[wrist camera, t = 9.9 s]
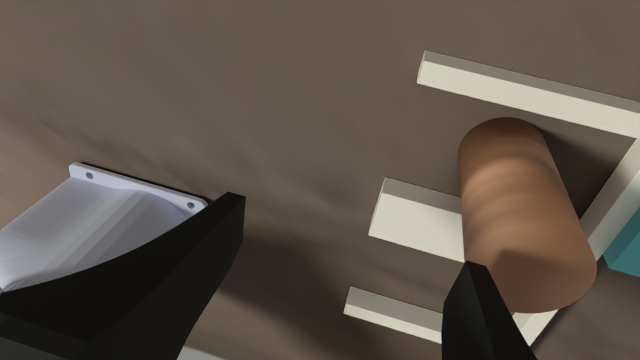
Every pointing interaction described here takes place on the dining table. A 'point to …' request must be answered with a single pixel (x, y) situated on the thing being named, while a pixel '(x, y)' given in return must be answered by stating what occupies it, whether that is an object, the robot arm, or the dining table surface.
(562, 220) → the peg
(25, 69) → the dining table surface
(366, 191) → the dining table surface
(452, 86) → the slot rack
